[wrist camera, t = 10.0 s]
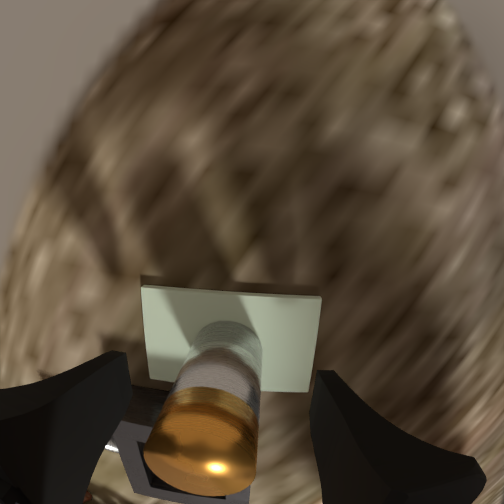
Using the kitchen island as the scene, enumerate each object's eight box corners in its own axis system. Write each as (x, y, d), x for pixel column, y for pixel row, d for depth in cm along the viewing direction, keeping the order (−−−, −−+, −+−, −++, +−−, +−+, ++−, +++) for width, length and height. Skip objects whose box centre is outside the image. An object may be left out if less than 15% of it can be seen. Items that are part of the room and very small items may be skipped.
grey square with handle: (256, 400, 15) (254, 440, 12) (250, 476, 16) (248, 511, 13) (47, 363, 15) (21, 387, 12) (74, 440, 17) (56, 465, 14)
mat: (320, 296, 14) (321, 299, 13) (307, 387, 15) (308, 392, 14) (144, 284, 14) (140, 287, 13) (152, 374, 15) (149, 378, 14)
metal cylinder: (261, 381, 14) (253, 499, 7) (195, 376, 14) (153, 486, 7) (264, 322, 13) (258, 436, 7) (192, 318, 14) (133, 421, 7)
